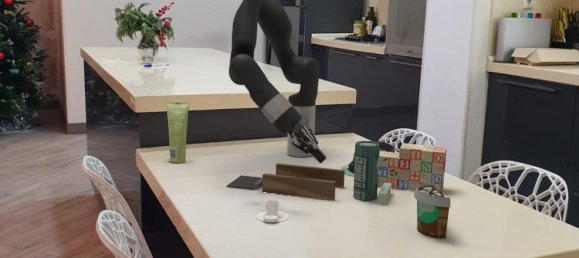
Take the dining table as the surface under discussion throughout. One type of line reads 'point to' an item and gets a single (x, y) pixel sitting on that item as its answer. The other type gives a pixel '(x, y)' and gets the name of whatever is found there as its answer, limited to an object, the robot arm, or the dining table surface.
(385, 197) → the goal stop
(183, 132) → the tube
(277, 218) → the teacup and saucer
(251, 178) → the mat
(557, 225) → the dining table surface
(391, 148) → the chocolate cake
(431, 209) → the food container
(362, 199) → the can
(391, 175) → the stack of blocks
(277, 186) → the lane
